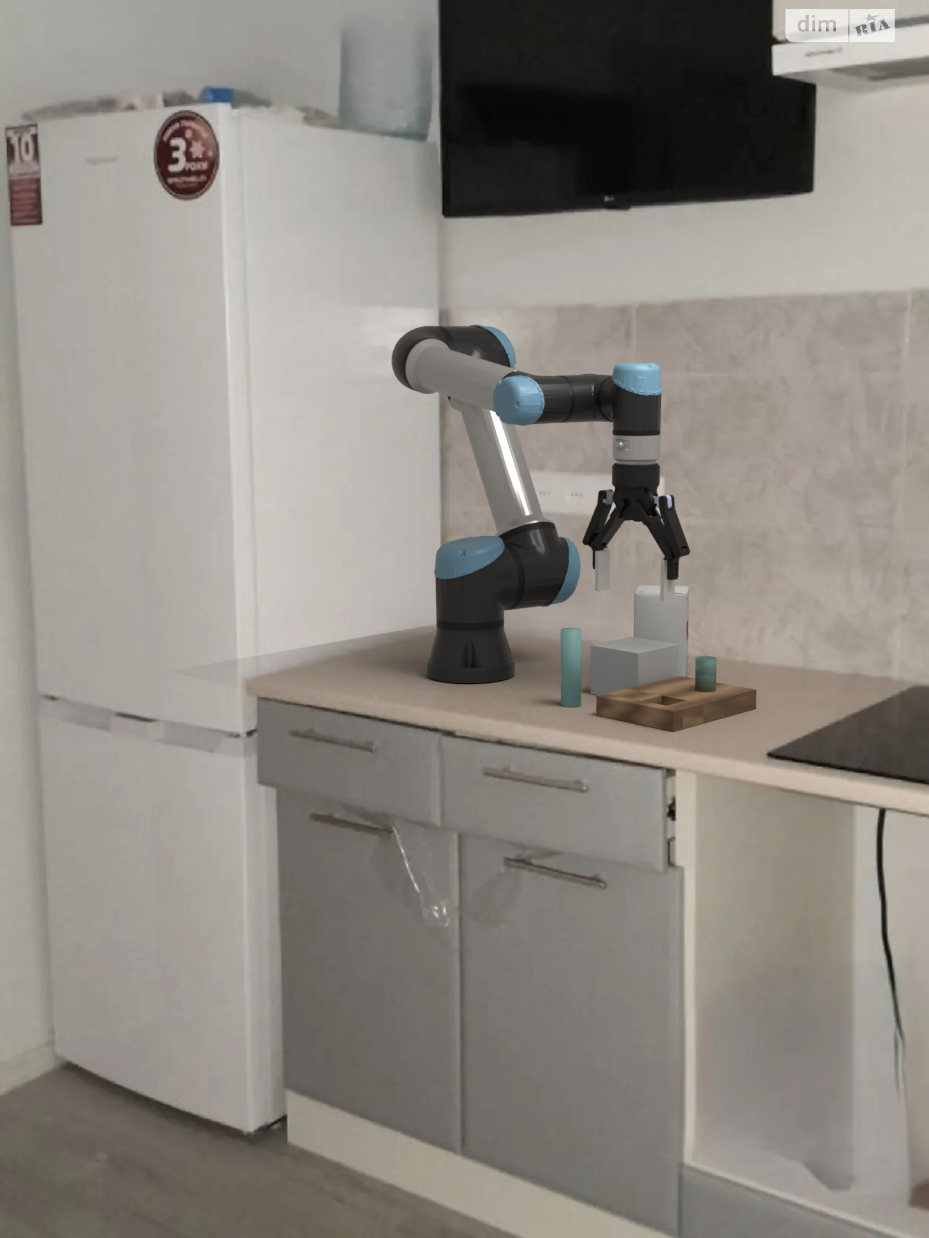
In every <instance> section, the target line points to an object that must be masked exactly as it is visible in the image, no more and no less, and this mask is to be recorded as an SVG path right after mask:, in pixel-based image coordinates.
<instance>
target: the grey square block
mask: <svg viewBox="0 0 929 1238" xmlns="http://www.w3.org/2000/svg"><path fill="white" fill-rule="evenodd" d="M589 652H590V655H589V656H590V659H589V660H590V666H589V667H590V683H589V684H590V689H589V690H590V693H589V694H590V695H594V696H598V695H602V694H606V693H610V692H615V691H619V690H623V689H627V688H631V687H635V686H639V685H643V684H648V683H652V682H656V681H660V680H664V679H668V678H672V677H677V676H678V662H679V644H673V643H667V642H660V641H654V640H648V639H642V638H635V637H634V636H627V637H624V638H618V639H614V640H609V641H604V642H599V643H595V644H591V645H590V651H589Z"/></svg>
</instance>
